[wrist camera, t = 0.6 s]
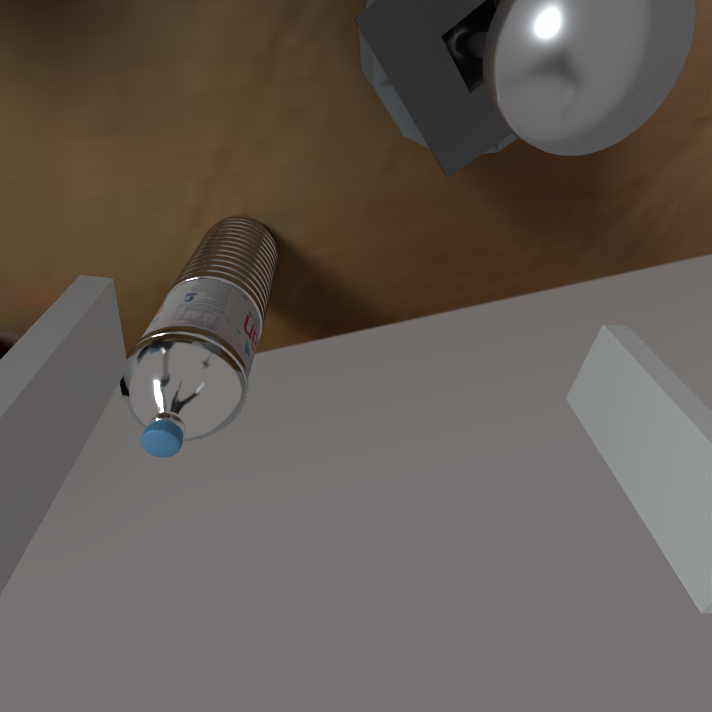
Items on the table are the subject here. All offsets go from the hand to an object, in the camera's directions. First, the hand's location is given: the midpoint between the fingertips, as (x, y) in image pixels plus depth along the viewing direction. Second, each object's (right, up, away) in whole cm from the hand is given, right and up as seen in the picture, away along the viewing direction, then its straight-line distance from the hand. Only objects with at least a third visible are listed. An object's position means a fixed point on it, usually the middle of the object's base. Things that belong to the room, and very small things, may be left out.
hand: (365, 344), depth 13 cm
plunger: (+5, +16, +13) cm, 21 cm away
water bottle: (-11, +9, +31) cm, 34 cm away
